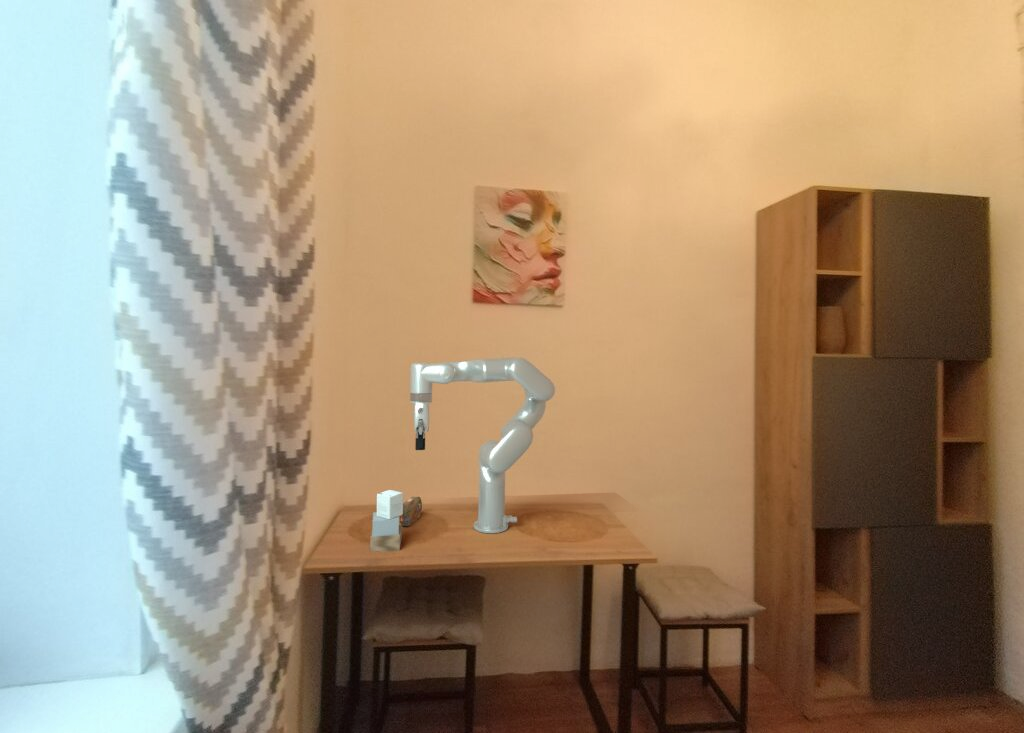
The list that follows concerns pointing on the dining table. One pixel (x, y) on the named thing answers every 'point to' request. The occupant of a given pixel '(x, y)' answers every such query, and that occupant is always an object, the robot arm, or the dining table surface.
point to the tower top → (384, 526)
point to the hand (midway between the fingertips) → (420, 447)
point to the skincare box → (389, 504)
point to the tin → (411, 511)
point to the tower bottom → (386, 542)
